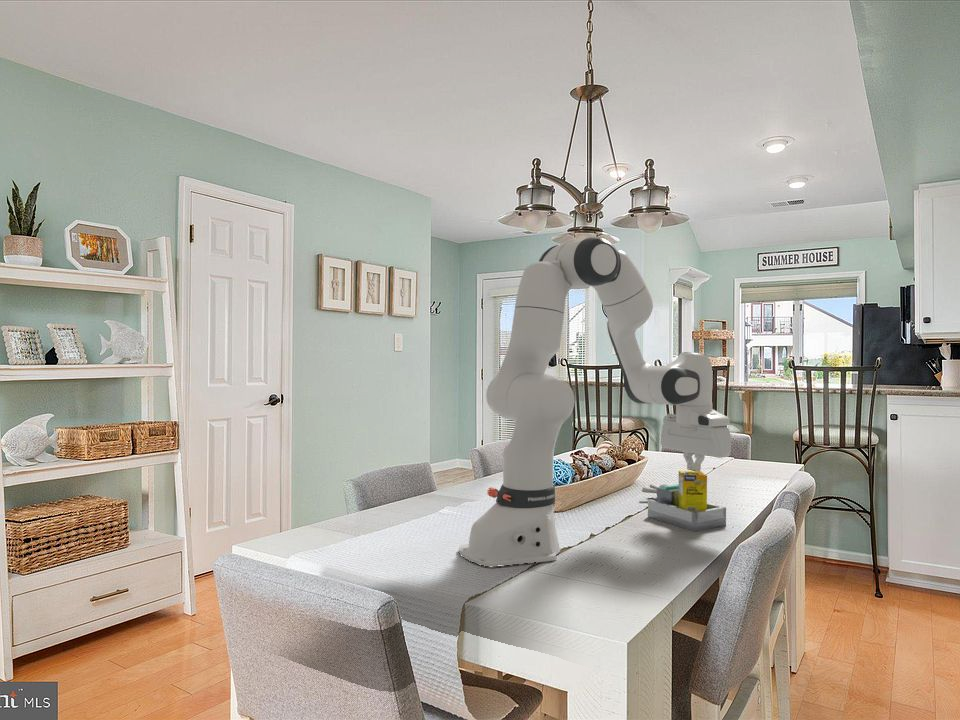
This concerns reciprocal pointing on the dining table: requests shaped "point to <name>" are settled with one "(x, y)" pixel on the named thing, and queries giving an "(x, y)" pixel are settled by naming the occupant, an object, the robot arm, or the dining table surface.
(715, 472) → the dining table surface
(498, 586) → the dining table surface
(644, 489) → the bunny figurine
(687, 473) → the supplement box
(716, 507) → the tray
